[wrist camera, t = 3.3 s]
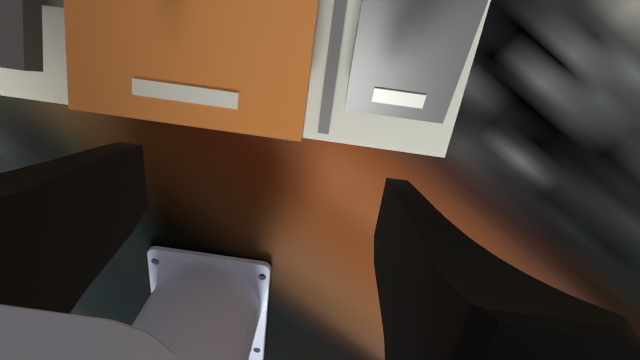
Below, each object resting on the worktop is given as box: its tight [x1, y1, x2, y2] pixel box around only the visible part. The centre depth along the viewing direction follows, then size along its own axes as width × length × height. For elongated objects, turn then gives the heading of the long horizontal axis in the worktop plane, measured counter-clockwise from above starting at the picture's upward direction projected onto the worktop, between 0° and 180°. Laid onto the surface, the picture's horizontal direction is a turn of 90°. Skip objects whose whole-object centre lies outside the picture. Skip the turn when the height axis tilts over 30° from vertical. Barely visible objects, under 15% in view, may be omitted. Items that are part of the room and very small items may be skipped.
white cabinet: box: [0, 0, 491, 158], centre depth 17 cm, size 10×22×4 cm, turn 83°
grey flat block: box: [344, 0, 488, 124], centre depth 15 cm, size 6×4×1 cm
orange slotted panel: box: [64, 0, 320, 142], centre depth 15 cm, size 8×9×1 cm
